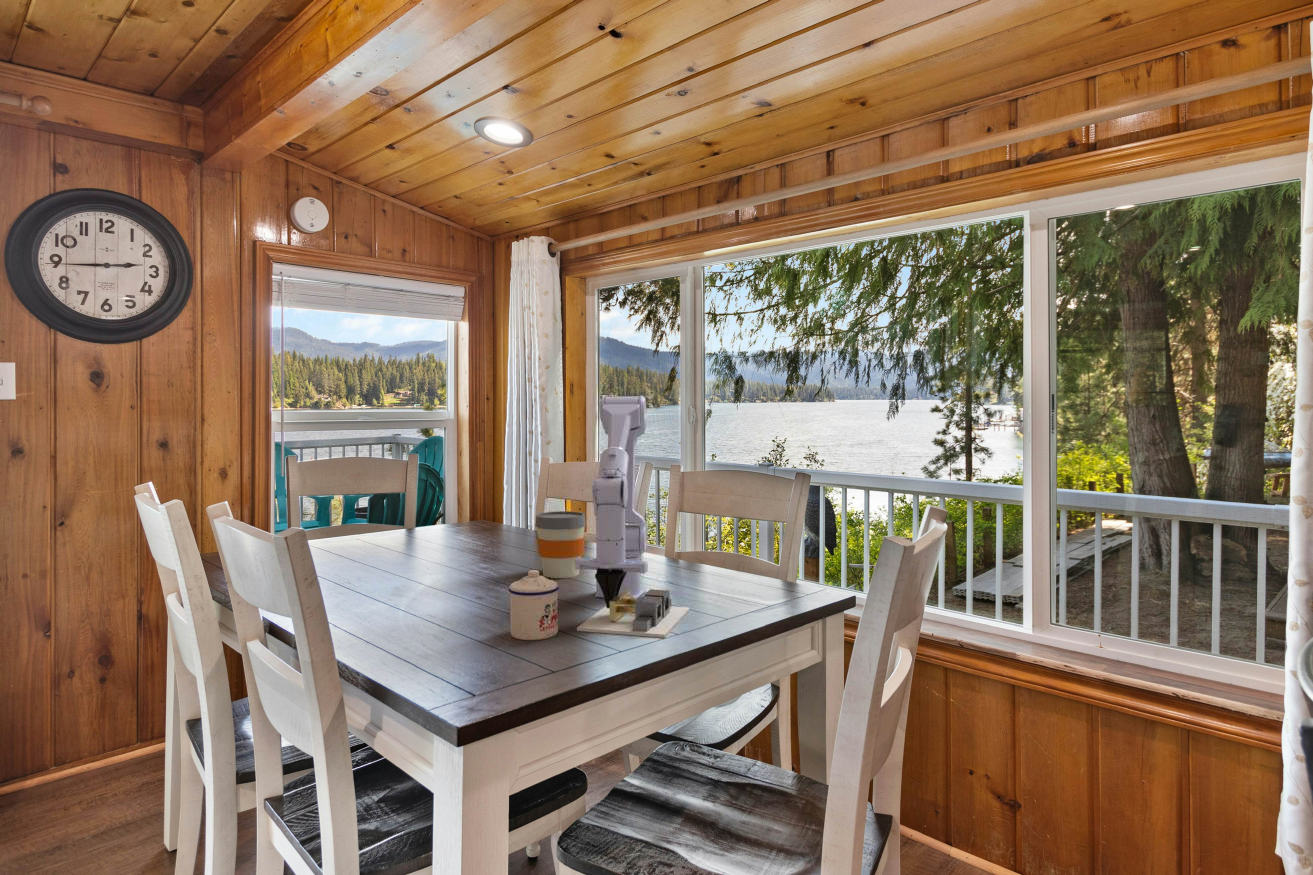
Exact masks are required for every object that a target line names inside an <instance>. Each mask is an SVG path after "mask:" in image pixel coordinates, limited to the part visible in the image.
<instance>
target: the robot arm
mask: <svg viewBox="0 0 1313 875" xmlns="http://www.w3.org/2000/svg"><path fill="white" fill-rule="evenodd" d="M599 418H600V421H601V424H602V428H603V430H604V433H605V435H607V448H606V449H604V450H603V451H602V452H601V455H600V461H599V468H598V469H599V470H598V475H597V480H593V483H592V490H591V491H592V496H591V497H592V502H593V503H592V504H593V514H594V517H595V528H596V529H595V545H596V546H595V548H596V549H595V551H596V556H595V557H596V558H595V557H591V558H587V557H586V558H584V557H583V558H582V557H581V558H578V559H576V560H575V570H590V571H592V570H593V571H595V572H596V573H595V574H594V577H595V581H596V588H595V589H596V594H595V597H596V598H604V602H605V606H606V607H607V608H610V601H611V600H612V599H614V598H615V597H616V596H618V595H619V594H620V593H622V592H623V591H624V590H631V598H640V597H642V596H643V595H644V594H645V593H646V592H647V589H646V588H641V574H647V573H648V570H649V569H648V565H649V564H648V561H641V555H642V554H644V553H646V550H647V544H648V543H647V542H648V532H647V521H646V519H645V517H644V516H643V515H641V514H640V513H638V511H636V510H635V488H636V487H635V480H636V479H635V478H636V476H635V475H636V445H637V442H638V438H639V437H640V436H643V435H645V434H646V429H647V400H646V398H645V397H644V395H640V396H639V395H637V396H636V395H635V396H633V395H631V396H606V395H603V396H602V397H601V398H600V402H599ZM626 524H628V525H626ZM631 524H632V525H631ZM633 524H634V525H633ZM635 524H637V525H635Z"/></svg>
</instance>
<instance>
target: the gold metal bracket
mask: <svg viewBox="0 0 1313 875" xmlns="http://www.w3.org/2000/svg"><path fill="white" fill-rule="evenodd" d="M639 598H640V597H638V598H631V590H624V591H623V592H622V593H620V594H619V595H618V596H616V597H615V598H614V599H612V600H611V601H610V621H616V620H618V619H619V618H620V617H621V616H622V615H624V614H625V613H628V614H635V602H636V601H637V600H638V599H639Z"/></svg>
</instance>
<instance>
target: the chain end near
mask: <svg viewBox="0 0 1313 875" xmlns="http://www.w3.org/2000/svg"><path fill="white" fill-rule="evenodd" d="M638 598H639V599H638V600H637V601H636V602H635V619H634V620H633V631H645V632H647V631H648V630H649V629H650V628H651V627H652V626H657V625H658V624H659V623H660V622H661V621H662V597H649V596H644V595H641V596H640V597H638Z"/></svg>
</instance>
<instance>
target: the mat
mask: <svg viewBox="0 0 1313 875" xmlns="http://www.w3.org/2000/svg"><path fill="white" fill-rule="evenodd" d="M689 612H690V607H685V606H672V605H671V608H670V613H669V614H668V615H667V616H666V617H665V618H662V621H661V622H660V623H659V624H658V625H657V626H652V627H651V628H650V629H649V630H648V631H647V632H645V631H633V620H634V619H635V614H628V613H625V614H624V615H622V616H621V617H620V618H619V619H618V620H616V621H610V608H607V607H606V605H605V606H604V607H602V608H601V609H600V610H599V611H597V612H596V613H594V614H593V615H592V616H590V617H589V618H588V619H587V620H585V621H584V622H583V623H581V624H580V625H579V626H577V627H576V632H587V633H588V632H589V633H599V634H600V633H601V634H612V635H623V636H625V635H626V636H637V637H649V638H659V639H660V638H661V639H663V638H664V639H666V638H667V636H668V635H669V634H670V633H671V632H672V631H673V630H674V629H675V627H676V626H677V625H678V624H679V623H680V622H681V621H682V620H683V618H685V616H686V615H687V614H688V613H689Z"/></svg>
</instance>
